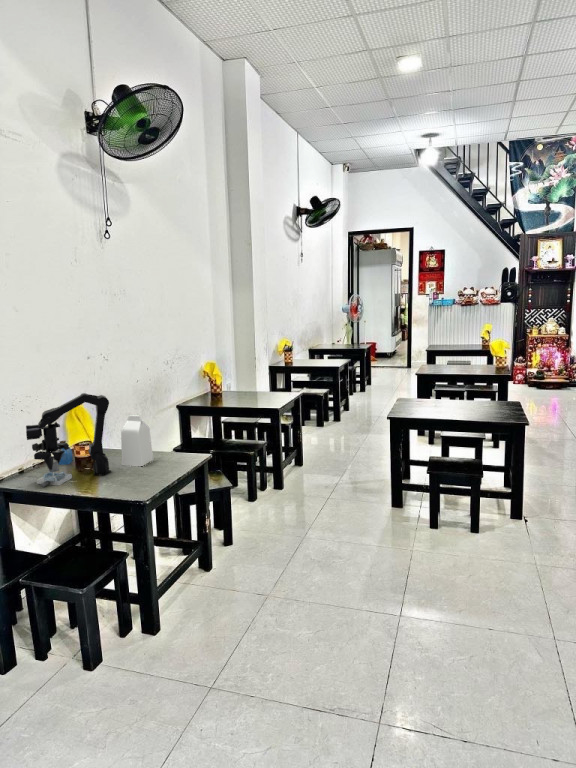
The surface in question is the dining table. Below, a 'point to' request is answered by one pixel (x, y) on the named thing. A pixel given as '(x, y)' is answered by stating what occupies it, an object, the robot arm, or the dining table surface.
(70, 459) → the perfume bottle
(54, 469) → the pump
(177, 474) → the dining table surface
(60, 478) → the motor block
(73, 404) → the robot arm
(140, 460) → the milk
